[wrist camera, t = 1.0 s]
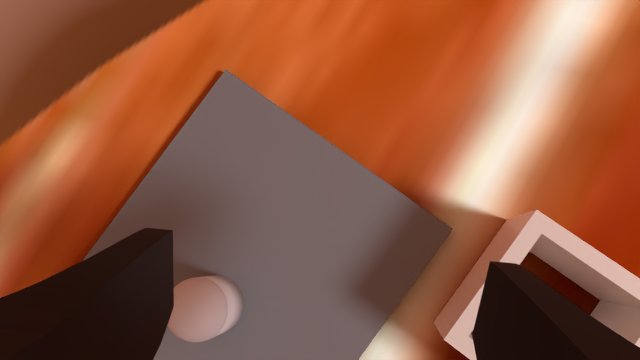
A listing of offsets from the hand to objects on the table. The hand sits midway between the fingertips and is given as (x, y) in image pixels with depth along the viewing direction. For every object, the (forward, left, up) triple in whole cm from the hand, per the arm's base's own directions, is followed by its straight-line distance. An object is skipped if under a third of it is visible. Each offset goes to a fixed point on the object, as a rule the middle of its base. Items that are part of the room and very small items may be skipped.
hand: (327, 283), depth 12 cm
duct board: (+4, +5, -12) cm, 14 cm away
